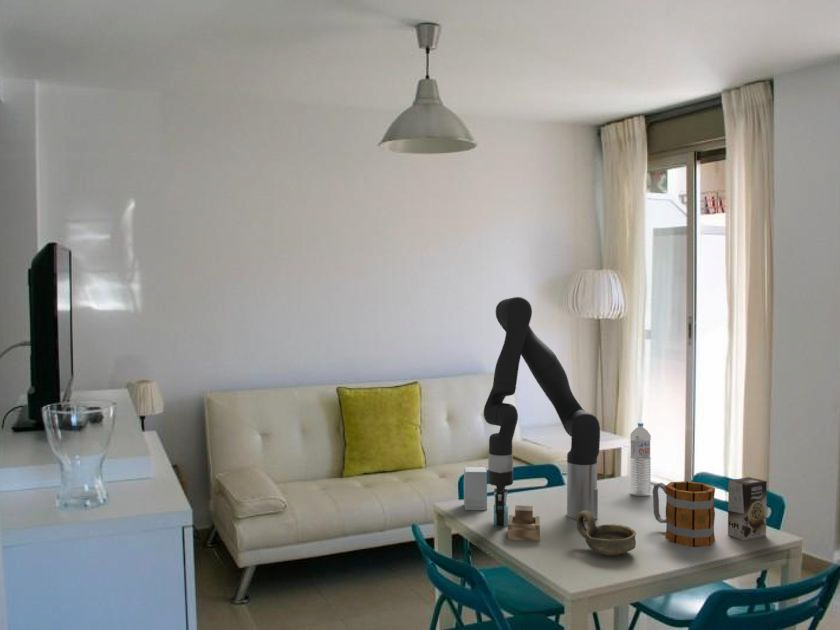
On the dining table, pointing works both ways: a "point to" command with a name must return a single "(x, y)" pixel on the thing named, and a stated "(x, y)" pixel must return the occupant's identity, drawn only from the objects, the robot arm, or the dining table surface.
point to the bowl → (606, 536)
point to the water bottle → (640, 462)
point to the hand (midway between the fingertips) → (500, 522)
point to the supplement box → (475, 488)
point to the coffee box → (747, 508)
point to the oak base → (524, 529)
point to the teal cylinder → (504, 515)
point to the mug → (687, 512)
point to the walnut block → (523, 514)
